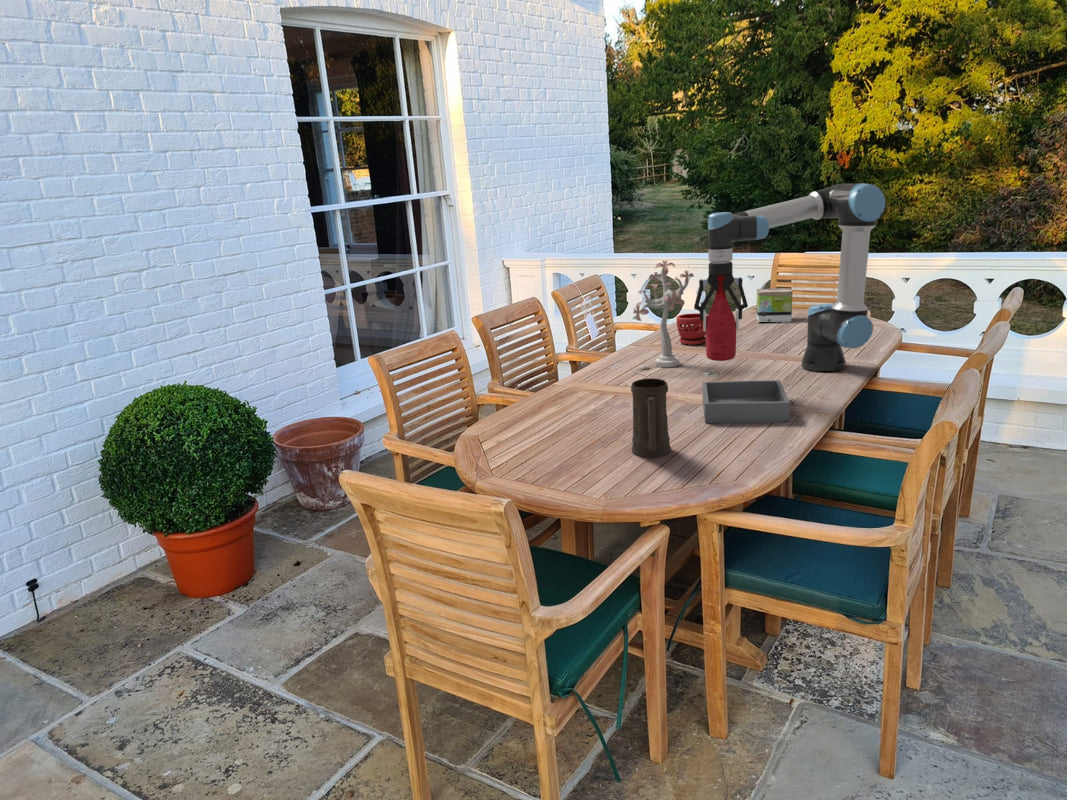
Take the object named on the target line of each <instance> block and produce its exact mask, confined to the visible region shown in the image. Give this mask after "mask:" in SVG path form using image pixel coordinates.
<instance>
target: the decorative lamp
mask: <svg viewBox="0 0 1067 800" xmlns="http://www.w3.org/2000/svg"><path fill="white" fill-rule="evenodd" d="M668 261H669V260H668V259H667V260H661V262H657V263H656V264H655V267H654V269H658V268H661V271H660V273H659V274H658V271H656V272H655V271H653V273H654V274H653V273H652V274H650V275H649V276H648V277H649V278H648V280H650V279H652V278H653V280H654V282H655V283H656V284H654V283H648V284H647V285H645V287H644V290H639V291H637V293H638V294H640V295H642V294H643V295H644V297H643V298H642V301H640V302H637V303H636V304H635V307H633V311H632V314H636V315H635V319H636V321H638V322H642V319H641V316H640V315H642V316H644V315H645V316H646V315H647V314H649V313H650V311H649V310H648V309H647V308H649V309H655V310H661V309H662V310H663V313H662V317H661V321H660V324H659V331H660V333H659V335H660V340H661V341H660V342H661V343H660V344H661V355H659V357H657V358H656V359H655V361H654V364H651V365H647V364H645V365H642V366H641V367H639V368H635V369H632V371H633V372H635V373H638V374H641V375H643V376H645V377H647V374H643V373H641V372H639V370H646V369H650V368H651V367H655V366H656V367H658V368H673V367H674V368H675V367H678V366H679V365H680V358H678V357H676V356H675V355H674V354H673V348H672V347H673V346H672V339H671V337H670V333H669V330H668V328H667V326H668V325H667V322H668V318H669V317H668V315H669V311H671V312H672V311H674V310H675V308H676V306H675V305H676V304H678V305H680V306H684V305H685V300H684V299H682V298H680V299H678V298H679V296H680V295H681V294H683V292H684V291H685V289H686V288H687V287H688V285H689V283H690V282H689V281H690V277H692V278H693V277H695V275H694V273H689V272H690V271H689V269H688V270H686V269H685V270H684V273H685V274H684V273H681V274H680V275H679V276H678V275H677V276H675V277H674V278H673V279H672V282H671V281H669V282H668V279H667V275H668V273H669V268H668V267H671V266H672V267H674V268H676V265H675V263H673V262H669V263H668ZM680 278H681V279H682V278H684V282H683V283H682V281H681V279H680ZM659 281H660V282H659ZM674 281H677V282H678V284H679V287H678V289H677V290H674V291H673V290H672V289H671V287H670V286H671V285H672V283H674ZM657 282H659V283H657ZM659 285H660V286H662V290H663V291H662V292H663V294H662V297H660V298H659V295H658V293H657V288H658V286H659ZM649 286H651V287H652V288H653V295H654V298H653V299H650V296H649V294H648V293H649V291H648V290H647V289H648V287H649ZM646 293H647V294H646ZM644 300H646V302H645V303H644V304H643V305H642V302H644ZM669 303H670V304H669ZM641 305H642V307H641ZM640 308H641V309H640Z"/></svg>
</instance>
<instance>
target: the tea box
mask: <svg viewBox="0 0 1067 800" xmlns="http://www.w3.org/2000/svg"><path fill="white" fill-rule="evenodd" d="M792 315H793V290H792V289H791V288H790V287H789V288H788V287H786V288H785V287H783V288H782V287H781V288H779V287H778V288H757V289H756V314H755V318H757V319H756V321H757V320H758V321H757V322H781V323H787V322H790V321H791V322H792V320H793V319H792Z"/></svg>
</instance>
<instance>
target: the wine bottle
mask: <svg viewBox="0 0 1067 800" xmlns="http://www.w3.org/2000/svg"><path fill="white" fill-rule="evenodd" d="M724 280H725V279H724V275H717V281H718V282H719V287H718V291H715V296H714V299H713V303H712V305H711V307H710V310H709V311H708V314H707V315H708V317H707V321H706V335H705V337H706V341H705V351H706V353H705V355H706V358H707V359H709V360H711V361H713V362H714V361H716V362H725V361H731V360H733V359H734V358H735V357H736V353H737V330H736V317H735V315H734V312H733V310H732V308H731V306H730V303H729V301H728V299H727V294H726V291H724V289H723V285H722V284H723V281H724Z"/></svg>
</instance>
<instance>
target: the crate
mask: <svg viewBox="0 0 1067 800" xmlns="http://www.w3.org/2000/svg"><path fill="white" fill-rule="evenodd" d="M790 404H791V402H790V400H789V397H788V396H787V393H786V392H785V388H784V386H783V384H782V382H781V380H779V379H778V380H777V379H776V380H775V379H774V380H773V379H771V380H738V381H737V380H736V381H734V380H731V381H726V380H725V381H702V405H703V414H704V423H705V424H721V423H722V424H723V423H724V424H725V423H726V424H727V423H729V424H731V423H732V424H733V423H734V424H736V423H739V424H740V423H789V422H790V418H791V417H790V413H791V411H790V410H791V409H790V408H791V405H790ZM786 421H787V422H786ZM788 421H789V422H788Z"/></svg>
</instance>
